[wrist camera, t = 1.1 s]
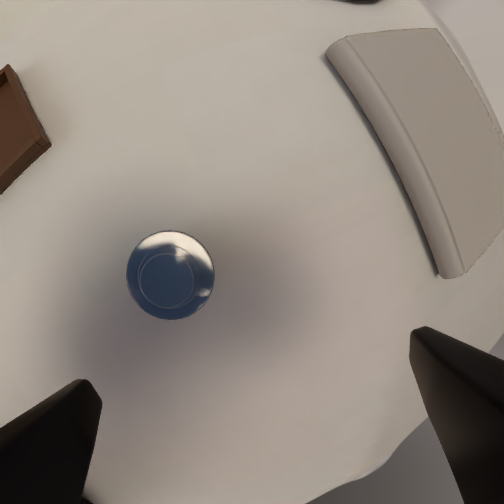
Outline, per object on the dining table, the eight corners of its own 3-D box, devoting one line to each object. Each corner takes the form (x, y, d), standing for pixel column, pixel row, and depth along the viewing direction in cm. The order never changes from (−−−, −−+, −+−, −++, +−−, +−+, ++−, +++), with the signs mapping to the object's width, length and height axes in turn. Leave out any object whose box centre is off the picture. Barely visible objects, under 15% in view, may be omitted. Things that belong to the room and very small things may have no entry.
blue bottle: (168, 317, 21) (159, 354, 13) (127, 263, 20) (93, 270, 12) (220, 276, 22) (242, 290, 14) (179, 222, 21) (177, 203, 13)
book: (436, 27, 24) (522, 200, 26) (419, 40, 28) (501, 203, 30) (336, 37, 20) (460, 280, 23) (318, 59, 24) (432, 277, 27)
